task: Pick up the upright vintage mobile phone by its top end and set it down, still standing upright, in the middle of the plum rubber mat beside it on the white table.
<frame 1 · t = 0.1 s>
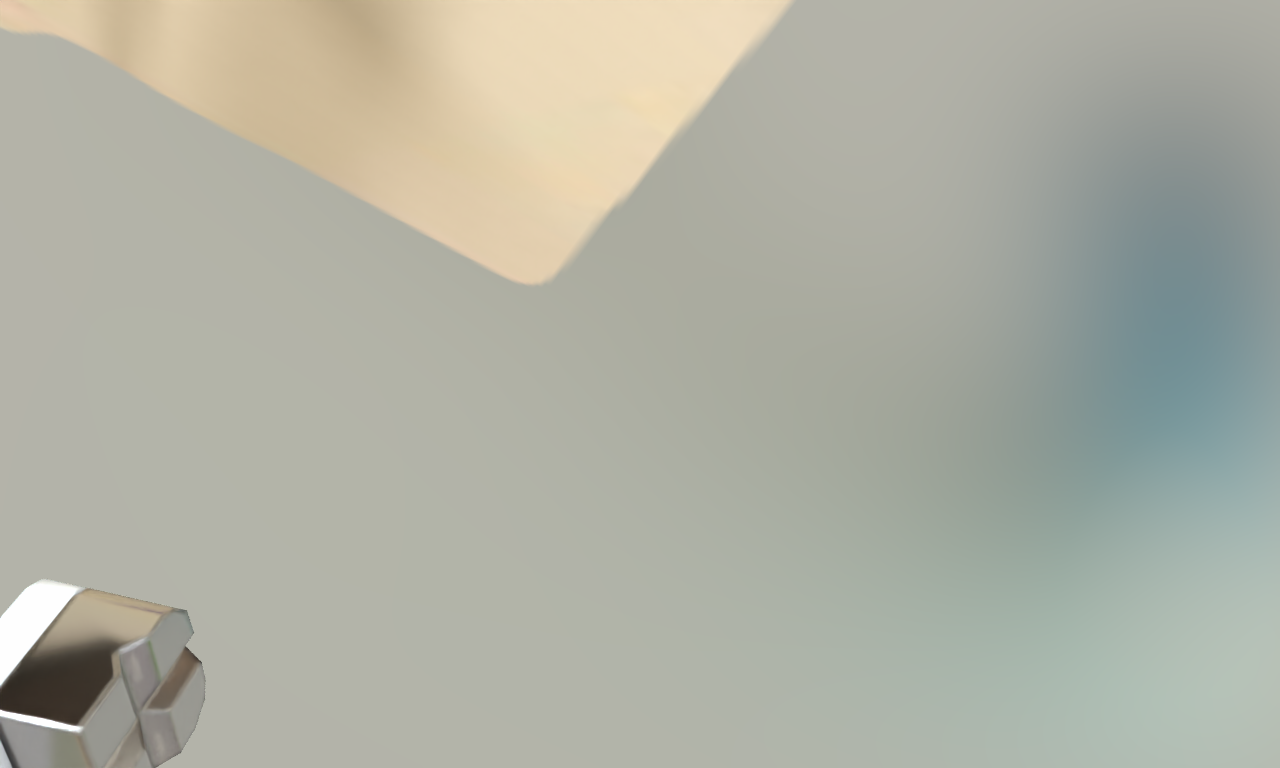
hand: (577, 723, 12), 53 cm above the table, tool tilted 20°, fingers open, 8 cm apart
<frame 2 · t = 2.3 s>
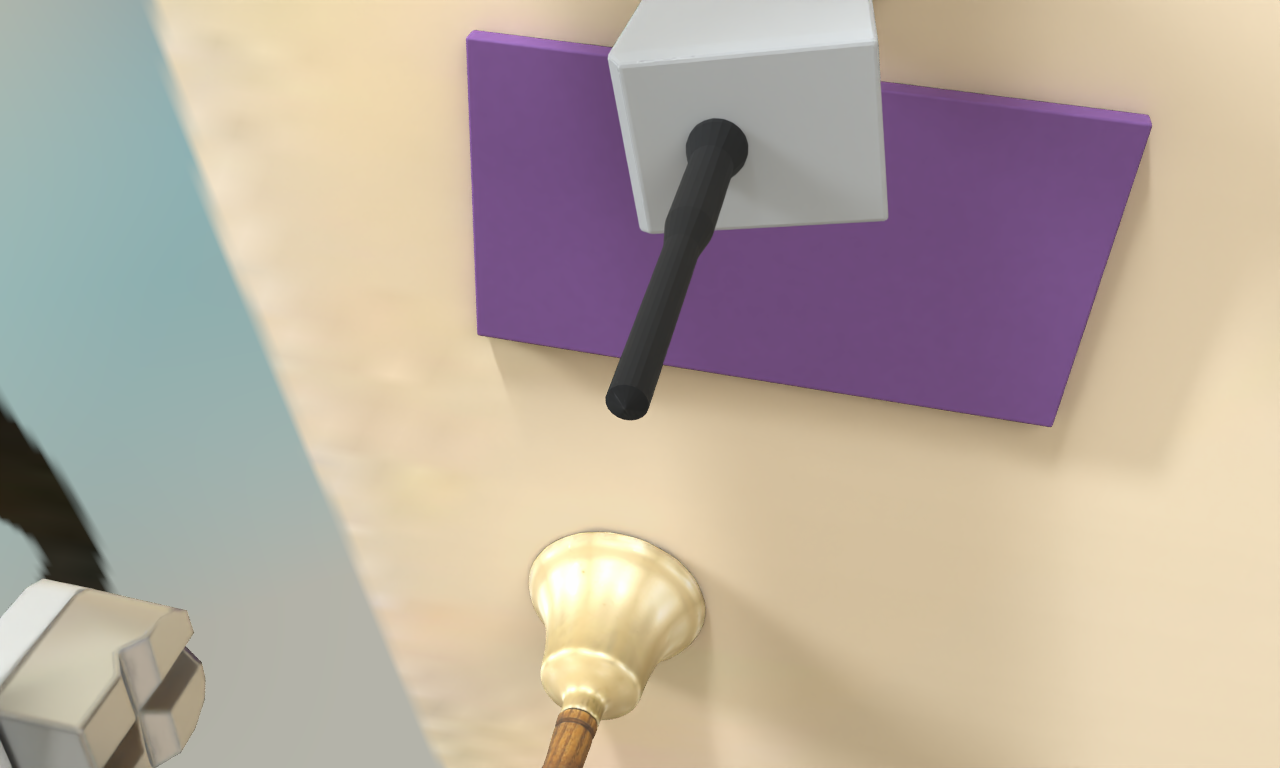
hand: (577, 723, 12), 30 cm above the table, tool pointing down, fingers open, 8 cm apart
mat: (776, 232, 42), on the table
hand bell: (617, 593, 55), on the table
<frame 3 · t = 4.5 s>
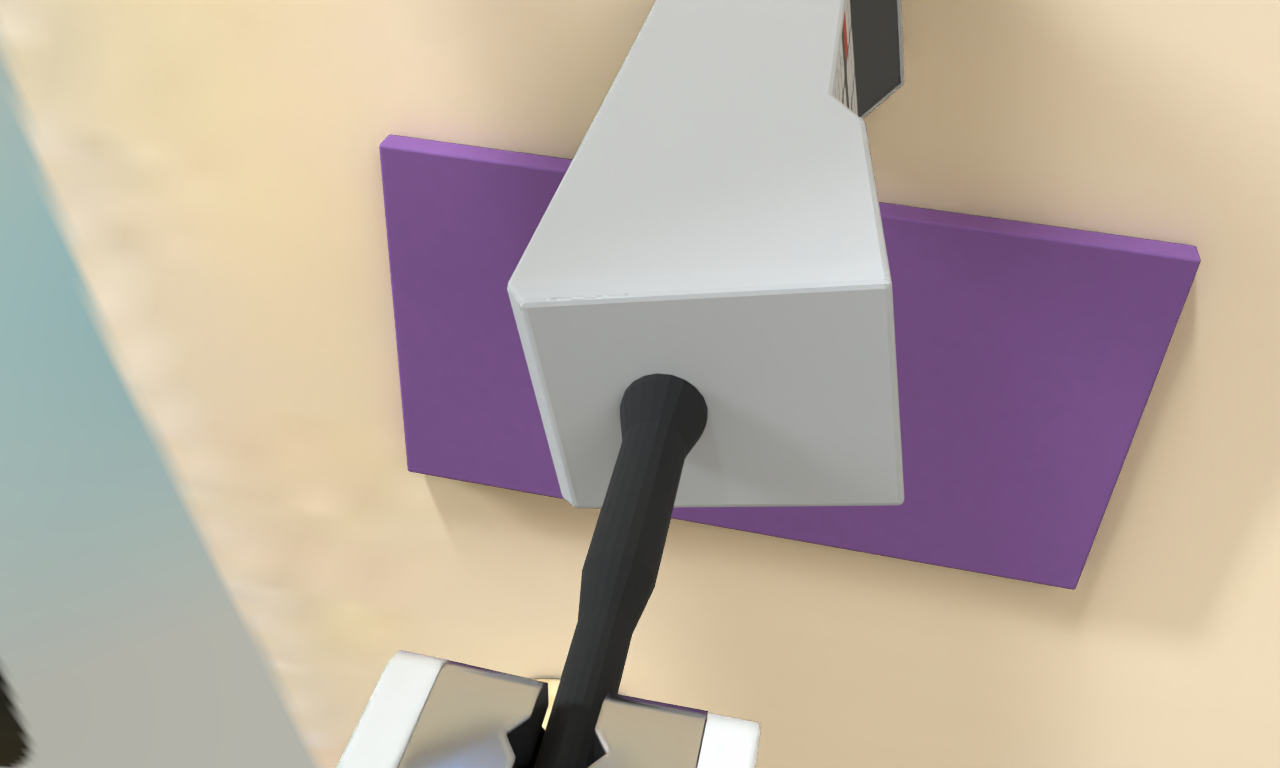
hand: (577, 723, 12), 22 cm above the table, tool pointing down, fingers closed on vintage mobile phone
mat: (751, 366, 36), on the table
hand bell: (578, 741, 48), on the table
vintage mobile phone: (798, 0, 29), on the table, touching gripper
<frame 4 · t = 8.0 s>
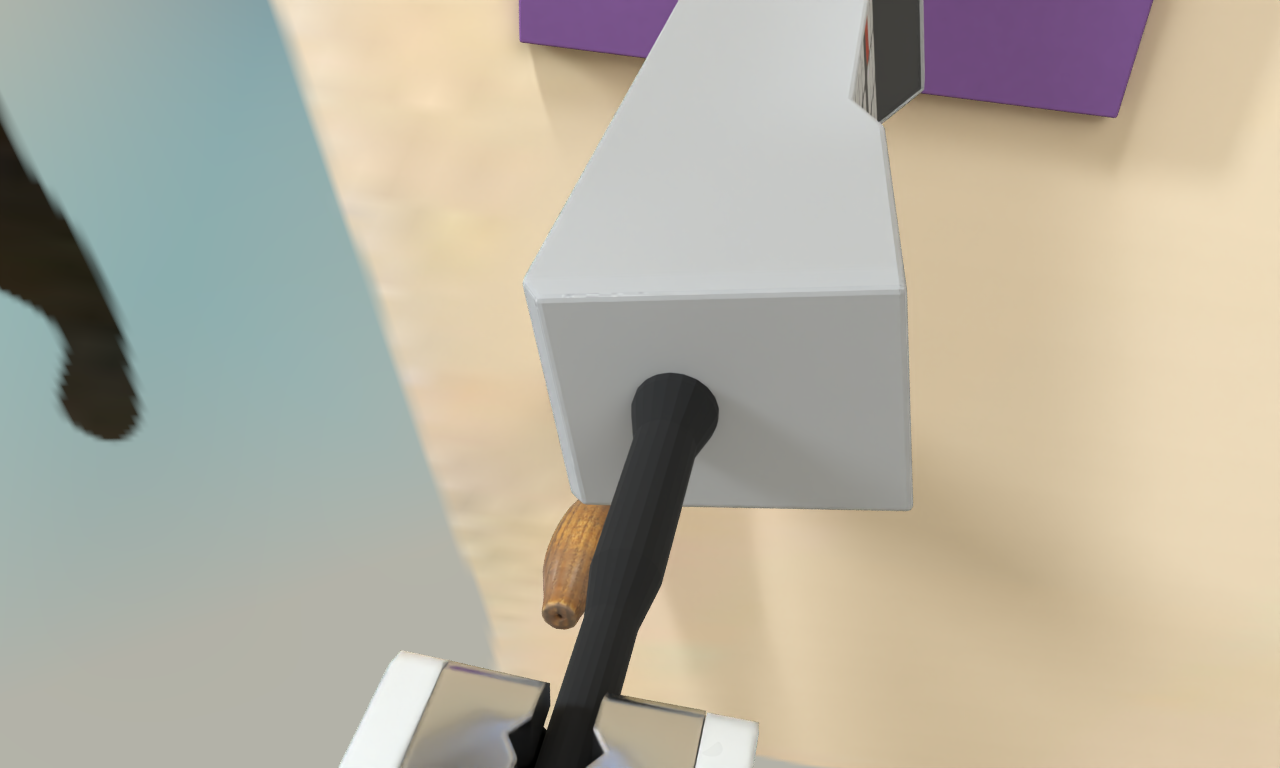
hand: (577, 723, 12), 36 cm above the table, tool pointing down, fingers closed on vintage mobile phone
hand bell: (656, 354, 53), on the table
vintage mobile phone: (820, 4, 29), point 14 cm above the table, touching gripper
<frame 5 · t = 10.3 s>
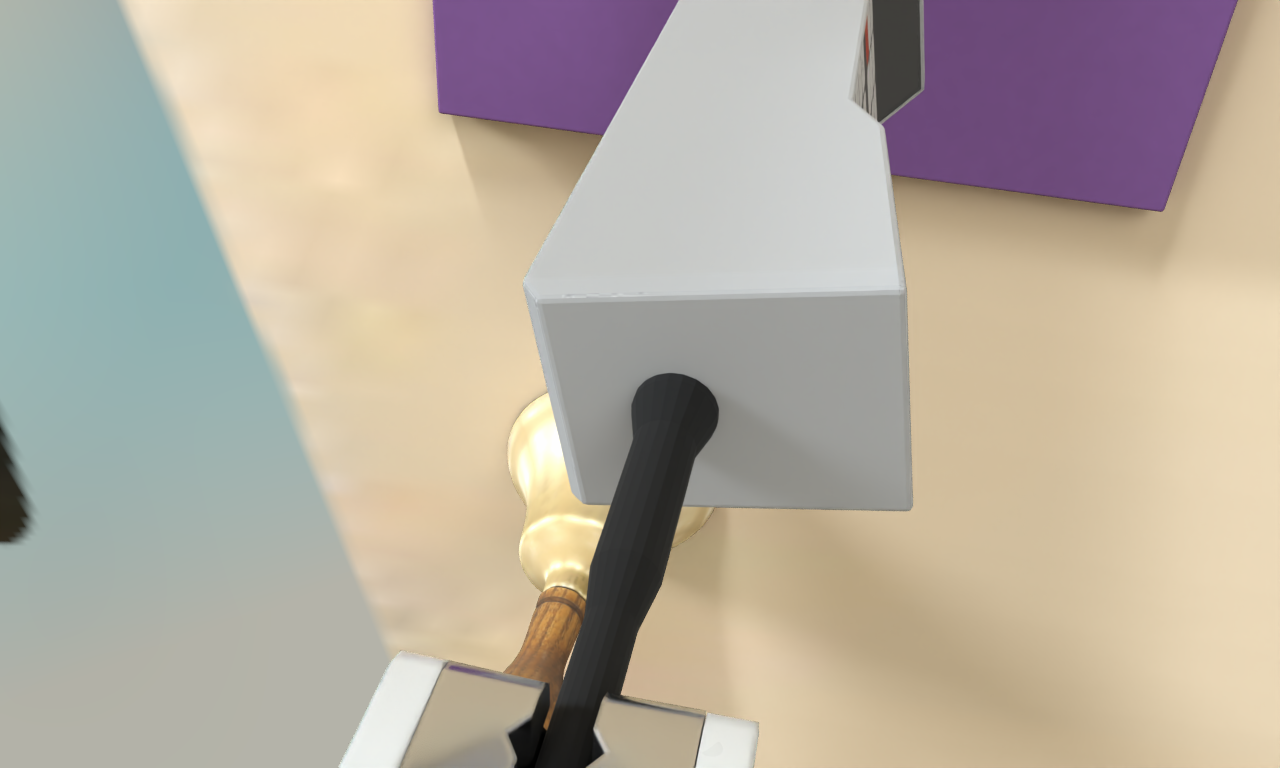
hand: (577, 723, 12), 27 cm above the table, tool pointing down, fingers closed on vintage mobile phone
hand bell: (614, 465, 46), on the table
vintage mobile phone: (821, 4, 29), point 4 cm above the table, touching gripper
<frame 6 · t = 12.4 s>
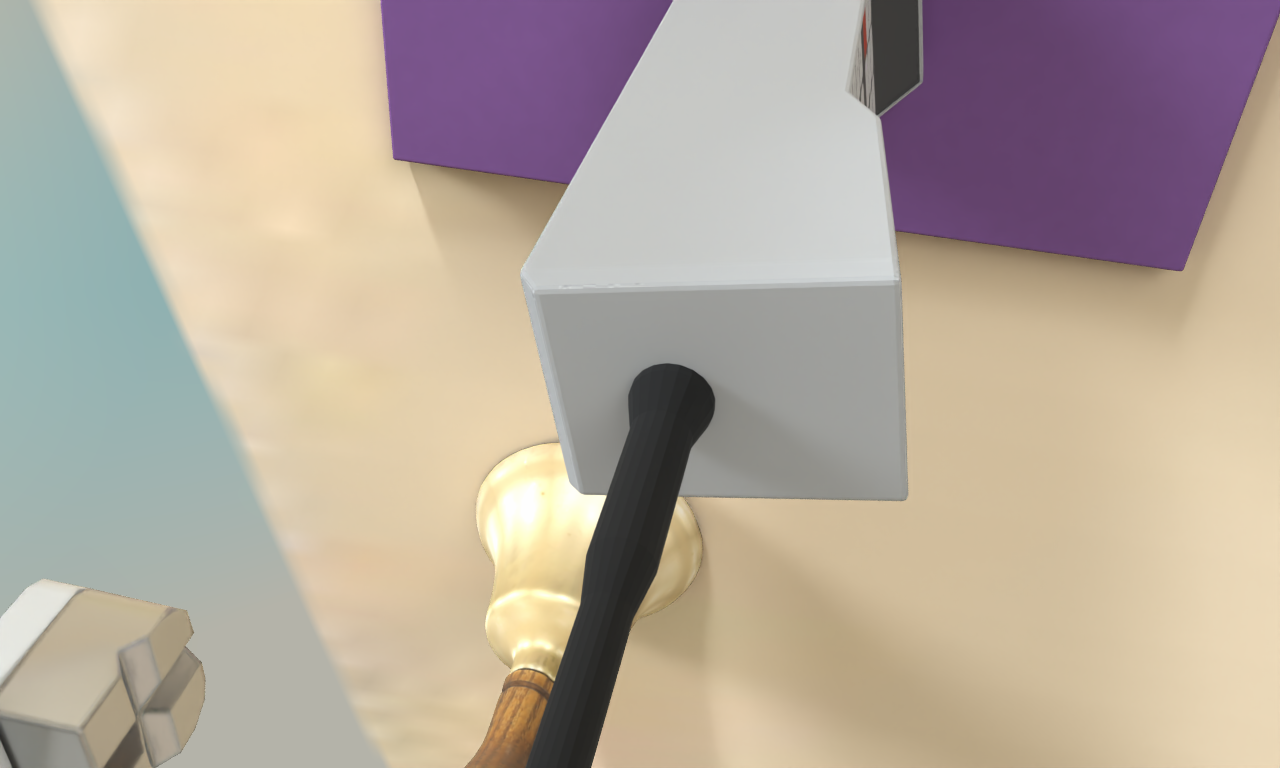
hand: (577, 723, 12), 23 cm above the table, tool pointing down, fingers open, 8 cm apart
hand bell: (590, 527, 43), on the table
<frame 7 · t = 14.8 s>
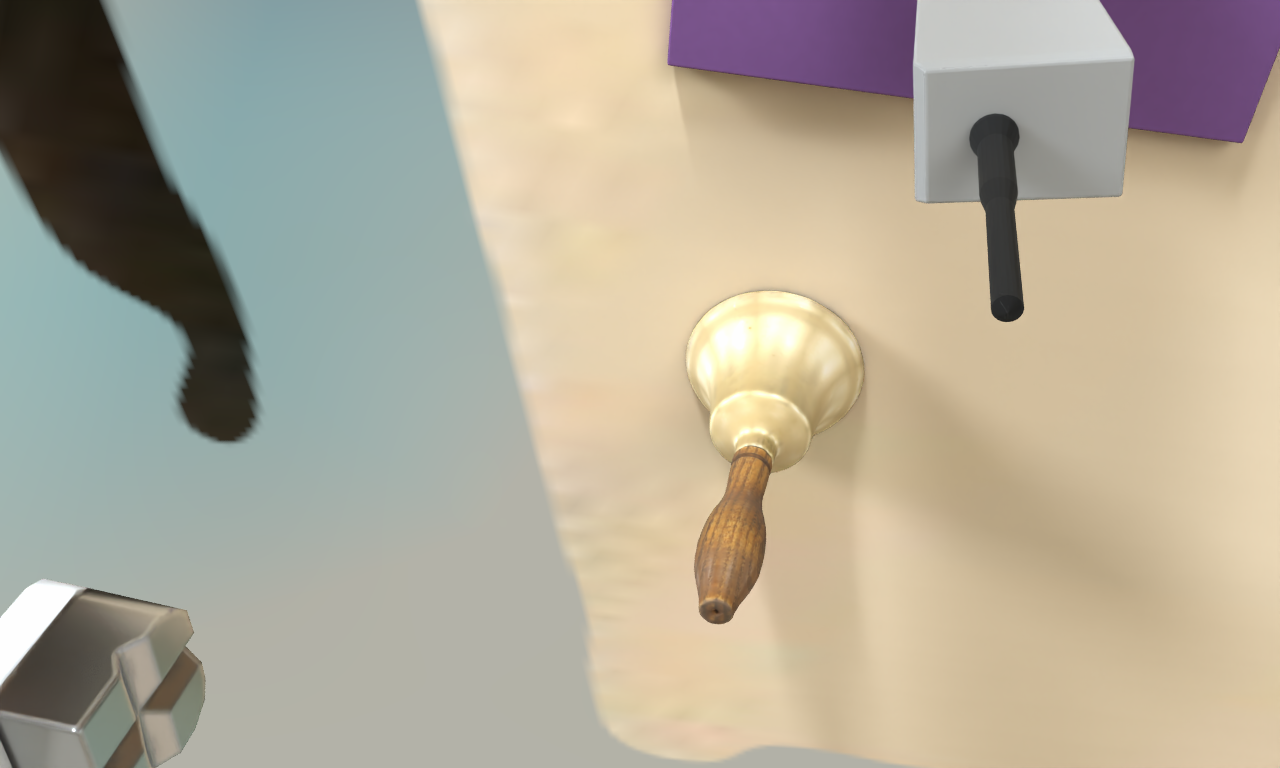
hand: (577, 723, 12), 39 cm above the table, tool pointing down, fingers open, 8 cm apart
hand bell: (774, 363, 56), on the table
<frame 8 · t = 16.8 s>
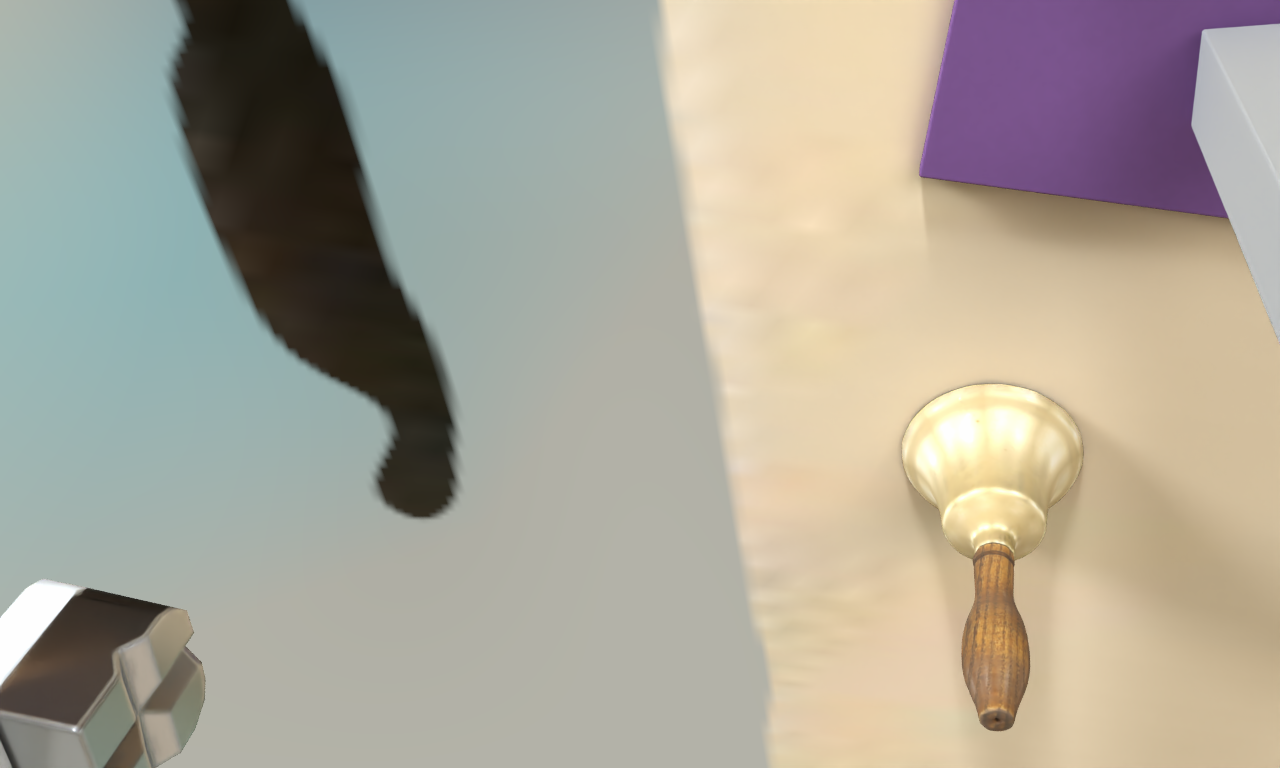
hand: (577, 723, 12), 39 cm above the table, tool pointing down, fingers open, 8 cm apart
mat: (1249, 62, 44), on the table
hand bell: (990, 450, 57), on the table
vintage mobile phone: (1267, 68, 43), point 1 cm above the table, touching mat
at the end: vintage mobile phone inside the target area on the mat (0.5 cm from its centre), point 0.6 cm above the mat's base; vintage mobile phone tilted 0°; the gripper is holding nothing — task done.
